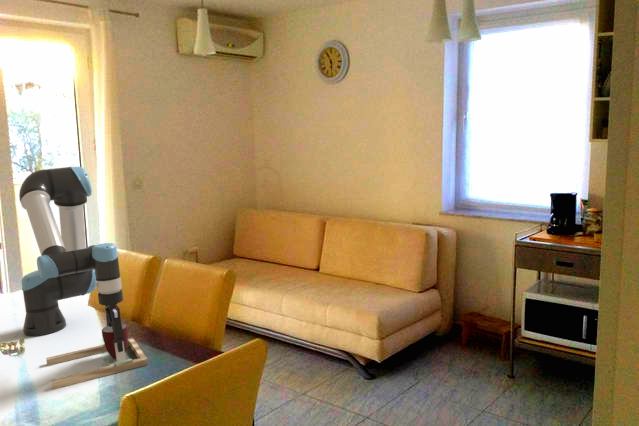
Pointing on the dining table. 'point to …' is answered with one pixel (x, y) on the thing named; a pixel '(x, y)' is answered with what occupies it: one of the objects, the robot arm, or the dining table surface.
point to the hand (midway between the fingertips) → (118, 354)
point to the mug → (109, 338)
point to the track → (97, 372)
